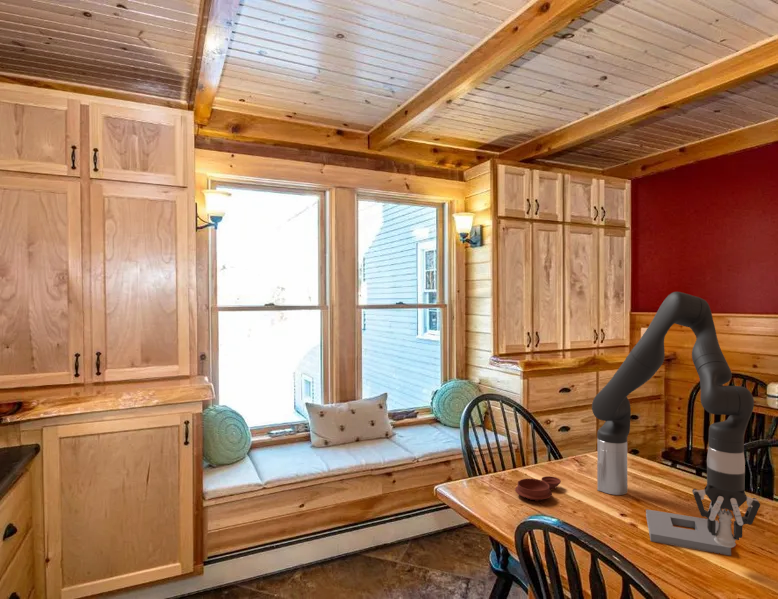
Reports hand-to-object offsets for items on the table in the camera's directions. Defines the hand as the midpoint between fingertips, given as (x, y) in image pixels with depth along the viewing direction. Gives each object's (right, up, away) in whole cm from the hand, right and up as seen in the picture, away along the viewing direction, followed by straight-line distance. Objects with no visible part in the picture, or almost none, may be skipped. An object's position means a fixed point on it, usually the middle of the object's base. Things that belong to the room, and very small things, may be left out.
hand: (724, 535), depth 116 cm
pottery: (-32, -8, +43) cm, 54 cm away
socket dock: (0, -7, +15) cm, 17 cm away
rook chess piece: (0, -2, 0) cm, 2 cm away
